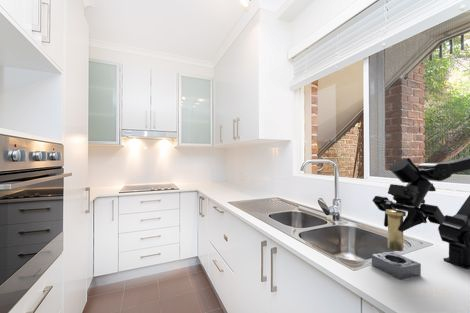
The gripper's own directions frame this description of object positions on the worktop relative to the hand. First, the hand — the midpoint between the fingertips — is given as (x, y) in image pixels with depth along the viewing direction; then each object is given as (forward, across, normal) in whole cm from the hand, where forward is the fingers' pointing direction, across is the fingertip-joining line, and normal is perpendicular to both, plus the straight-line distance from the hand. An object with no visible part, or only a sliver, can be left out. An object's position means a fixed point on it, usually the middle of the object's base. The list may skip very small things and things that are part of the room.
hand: (392, 228), depth 68 cm
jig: (+9, 0, +10) cm, 14 cm away
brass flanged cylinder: (+4, 0, +6) cm, 7 cm away
